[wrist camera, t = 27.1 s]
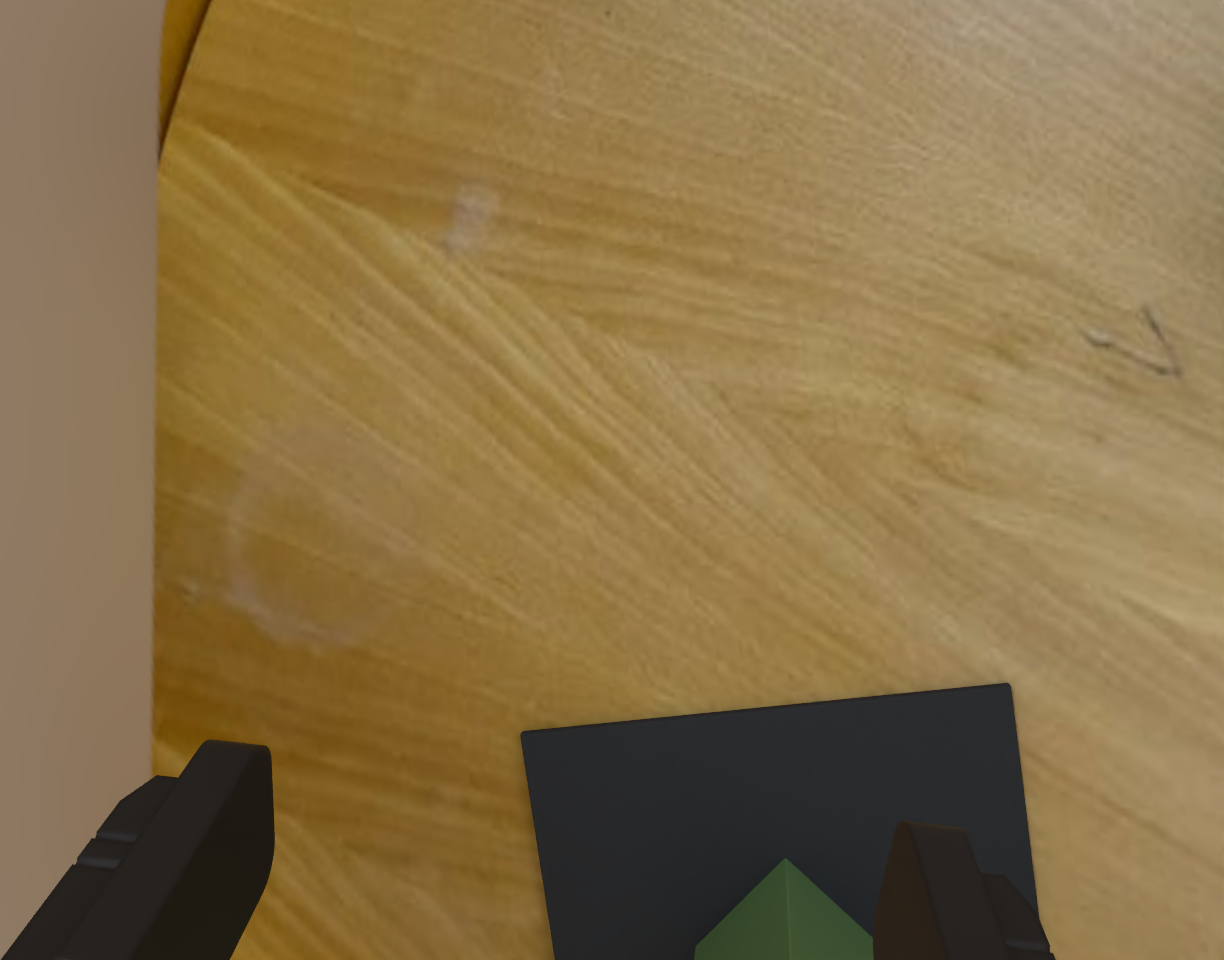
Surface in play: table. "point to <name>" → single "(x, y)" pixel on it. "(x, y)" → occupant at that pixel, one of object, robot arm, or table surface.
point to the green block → (786, 924)
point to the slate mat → (761, 809)
